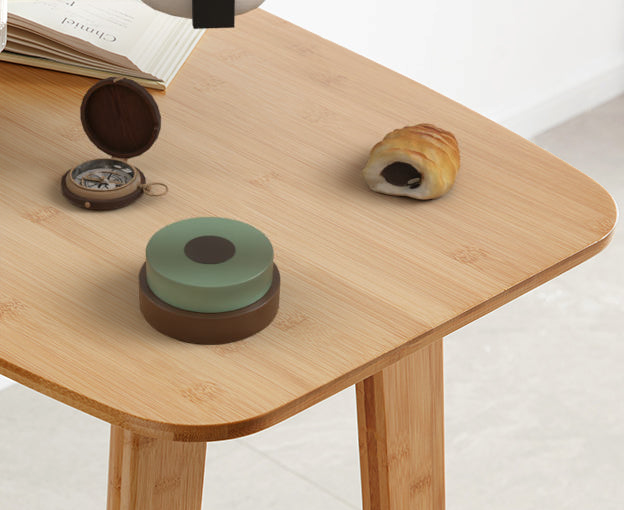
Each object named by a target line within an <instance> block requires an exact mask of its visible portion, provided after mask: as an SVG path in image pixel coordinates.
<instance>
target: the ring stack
mask: <svg viewBox="0 0 624 510" xmlns="http://www.w3.org/2000/svg"><path fill="white" fill-rule="evenodd" d="M274 255H275V250H274V247H273V244H272V242H271V240H270V239H269V237H268V236H267V235H266V234H265V233H264V232H262V230H260V229H259V228H256V227H255V226H254V225H252V224H251V225H250V224H249V223H246V222H243V221H241V220H237V219H232V218H228V217H222V216H221V217H220V216H198V217H191V218H190V217H189V218H185V219H180V220H178V221H177V220H176V221H175V222H171V223H169V224H167V225H165V226H164V227H162V228H160V229H159V230H158V231H156V232H155V233H154V234H153V235H152V236H151V237H150V239H148V242H147V244H146V247H145V260H144V262H143V263H142V265H141V266H140V269H139V273H138V300H139V309H140V312H141V314H142V316H143V319H145V321H146V322H147V323H148V324H149V325H150V326H151V327H152V328H153V329H155V330H156V331H157V332H159V333H161V334H163V335H165V336H168V337H169V338H172V339H174V340H178V341H182V342H185V343H191V344H197V345H198V344H199V345H200V344H201V345H218V344H227V343H228V344H229V343H233V342H234V343H235V342H239V341H242V340H245V339H247V338H250V337H253V336H254V335H256V334H258V333H260V332H262V331H263V330H264V329H266V328H267V327H268V326H269V325H271V323H272V322H273V321H274V319H276V316H277V315H278V312H279V308H280V298H281V297H280V296H281V295H280V294H281V273H280V270H279V268H278V266H277V264H276V263H275V262H274V257H275V256H274Z"/></svg>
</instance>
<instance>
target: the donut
mask: <svg viewBox="0 0 624 510" xmlns="http://www.w3.org/2000/svg"><path fill="white" fill-rule="evenodd" d="M140 1H141V2H142V3H143V4H145V5H146V6H148V7H150V8H151V9H153V10H154V11H157V12H160V13H163V14H165V15H169V16H171V17H177V18H183V19H188V20H192V0H140ZM265 1H266V0H235V17H238V16H242V15H246V14H247V13H249V12H251V11H254V10H256V9H258V8H259V7H260V6H261V5H262V4H263V3H264V2H265Z"/></svg>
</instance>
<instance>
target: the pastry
mask: <svg viewBox="0 0 624 510" xmlns="http://www.w3.org/2000/svg"><path fill="white" fill-rule="evenodd" d="M460 152H461V150H460V148H459V142H458V140H457V139H456V136H455V134H453V133H452V132H451V131H448V130H445V129H443V128H441V127H437V126H435V124H433V123H432V124H431V123H424V122H423V123H418V124H415V125H410V126H409V125H407V126H403V127H401V128H395V129H394V130H392V131H390V132H387V133H386V134H385V136H384V137H383V138H382V139H381V140H380V141H378V142H376V143H375V144H374V146H373V147H372V148H371V150H370V153H369V156H368V162H367V164H366V166H365V168H363V170H362V177H363V180H364V181H365V182H366V183H367V185H368V188H369V189H370V190H372V191H373V192H375V193H380V194H385V195H388V196H399V197H400V196H403V197H404V196H405V197H408V198H412V199H416V200H429V199H432V200H433V199H435V200H436V199H438V198H440V197H442V196H444V195H446V194H448V193H449V192H450V190H451V189H452V188H453V186H454V184H455V181H456V178H457V175H458V173H459V171H460V169H461V155H460Z"/></svg>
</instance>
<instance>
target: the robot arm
mask: <svg viewBox="0 0 624 510" xmlns="http://www.w3.org/2000/svg"><path fill="white" fill-rule="evenodd" d="M235 17H236V16H235V0H192V19H191V25H192V28H193V30H206V29H207V30H208V29H234V28H236V27H235V26H236V25H235V23H236V22H235V21H236V20H235Z"/></svg>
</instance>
